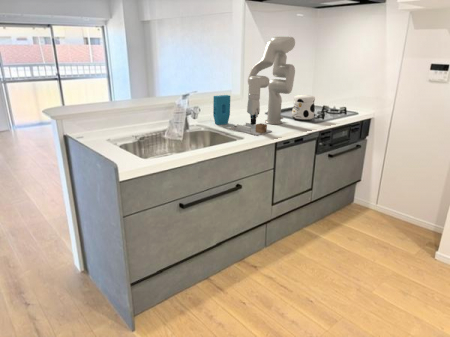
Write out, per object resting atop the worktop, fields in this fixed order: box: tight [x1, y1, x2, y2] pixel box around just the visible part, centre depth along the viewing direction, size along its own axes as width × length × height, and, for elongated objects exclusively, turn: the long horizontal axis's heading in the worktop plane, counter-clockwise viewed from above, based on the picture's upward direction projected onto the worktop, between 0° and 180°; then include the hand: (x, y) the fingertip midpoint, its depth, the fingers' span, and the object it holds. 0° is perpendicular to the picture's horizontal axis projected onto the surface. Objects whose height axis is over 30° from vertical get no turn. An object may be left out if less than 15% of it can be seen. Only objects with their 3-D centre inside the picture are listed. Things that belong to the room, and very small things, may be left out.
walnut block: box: [256, 122, 268, 133], centre depth 217 cm, size 5×5×5 cm
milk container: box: [291, 94, 316, 122], centre depth 261 cm, size 17×17×18 cm
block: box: [212, 94, 231, 126], centre depth 239 cm, size 12×5×20 cm, turn 125°
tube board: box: [229, 122, 273, 137], centre depth 224 cm, size 16×24×3 cm, turn 45°
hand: (253, 124), depth 223 cm, fingers closed
